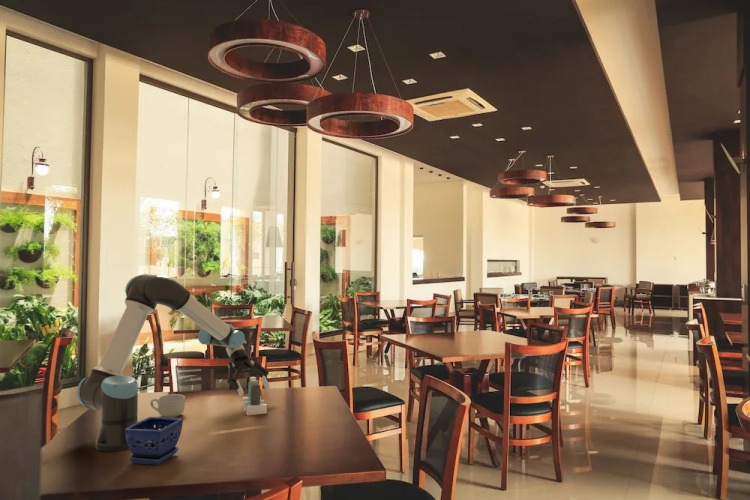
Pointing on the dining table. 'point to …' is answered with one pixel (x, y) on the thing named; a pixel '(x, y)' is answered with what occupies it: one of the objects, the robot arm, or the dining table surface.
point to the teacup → (169, 405)
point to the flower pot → (153, 439)
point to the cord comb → (254, 407)
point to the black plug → (255, 393)
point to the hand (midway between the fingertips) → (255, 392)
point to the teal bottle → (250, 387)
